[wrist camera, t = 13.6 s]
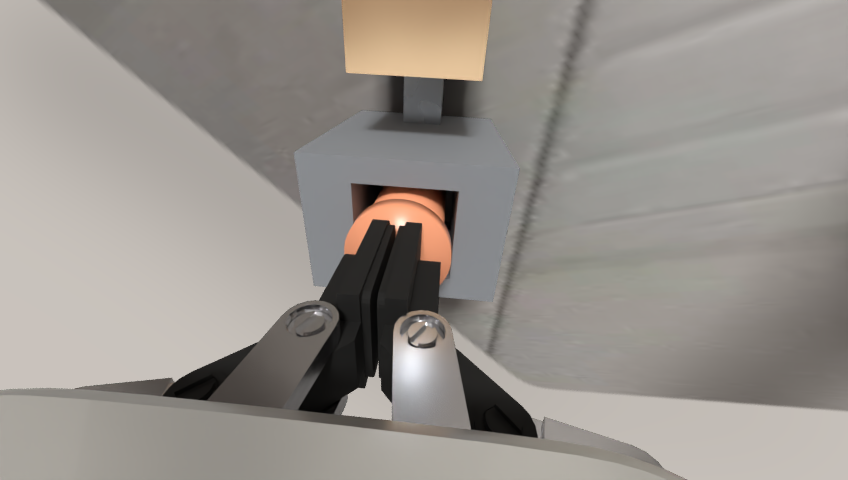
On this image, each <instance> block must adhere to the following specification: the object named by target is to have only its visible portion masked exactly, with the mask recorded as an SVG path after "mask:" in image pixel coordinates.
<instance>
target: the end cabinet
mask: <svg viewBox="0 0 848 480" xmlns="http://www.w3.org/2000/svg"><path fill="white" fill-rule="evenodd" d="M294 158H295V164H296V171H297V177H298V184H299V191H300V197H301V204H302V210H303V217H304V224H305V230H306V236H307V243H308V250H309V256H310V263H311V269H312V276H313V283H314V286H322V287H327V285H328V283H329V281H330V279H331V278H332V276H333V274H334V272H335V270H336V268H337V267H338V265H339V263H340V261H341V259H342V257H343V256H344V245H345V240H346V237H347V234H348V232H349V230H350V229H351V227H352V225H353V224H354V222H355V220H356V219H357V217H358V216H359V215H360V214H361V213H362V212H363V211H364V210H365V209H366V208H367V207H369V206H371V205H373V204H374V202H375V200H376V199H377V197H378V195H379V193H380V191H381V189H382V187H383V186H396V187H409V188H422V189H435V190H446V202H445V222H444V224H445V225H446V227H447V229H448V232H449V234H450V238H451V265H450V269H449V272H448V274H447V276H446V278H445V280H444V281H443V282H442V283H441V284H440V286H439V297H445V298H456V299H467V300H479V301H490V302H493V298H494V293H495V288H496V284H497V279H498V274H499V269H500V264H501V259H502V254H503V249H504V244H505V239H506V234H507V229H508V225H509V220H510V215H511V210H512V205H513V200H514V195H515V190H516V185H517V180H518V175H519V170H520V168H519V166H518V164H517V163H516V161H515V159H514V158H513V156H512V154H511V153H510V151H509V149H508V147H507V146H506V144H505V142H504V141H503V139H502V137H501V136H500V134H499V132H498V131H497V129H496V127H495V125H494V124H493V122H492V120H491V119H485V118H470V117H454V116H442V118H441V123H440V125H436V124H421V123H406V122H403V113H394V112H378V111H363V110H362V111H360V112H358V113H357V114H355V115H354V116H352V117H350V118H349V119H347V120H345V121H344V122H342V123H341V124H339V125H337V126H336V127H334V128H332V129H331V130H329V131H327V132H326V133H324V134H323V135H321V136H319V137H318V138H316V139H314V140H313V141H311V142H310V143H308V144H306V145H305V146H303V147H301V148H300V149H298V150H296V151H295V152H294Z"/></svg>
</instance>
